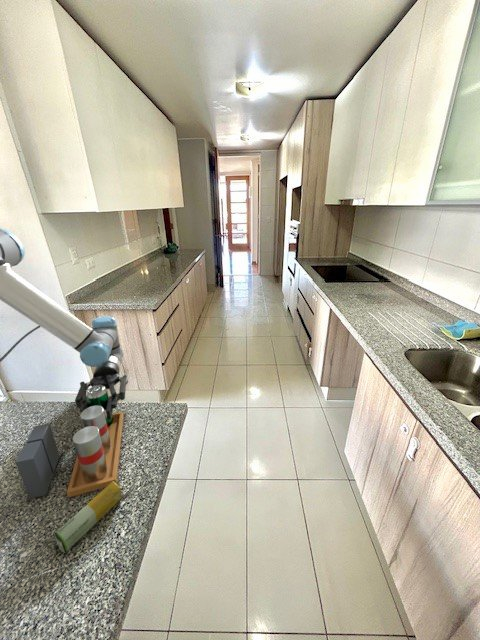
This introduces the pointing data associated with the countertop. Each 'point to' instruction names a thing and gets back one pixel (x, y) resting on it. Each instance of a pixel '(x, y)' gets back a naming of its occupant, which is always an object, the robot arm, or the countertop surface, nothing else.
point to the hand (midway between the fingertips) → (96, 417)
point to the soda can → (99, 399)
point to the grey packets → (38, 460)
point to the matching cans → (92, 444)
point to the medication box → (87, 517)
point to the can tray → (112, 460)
